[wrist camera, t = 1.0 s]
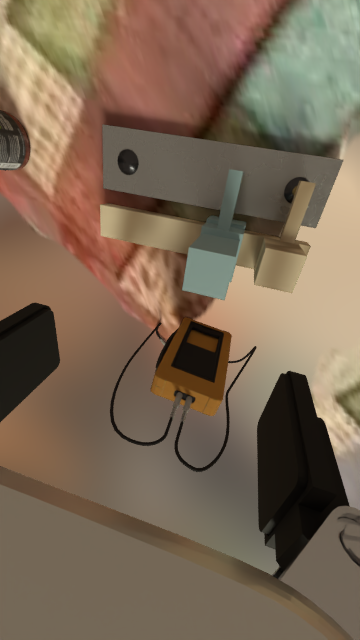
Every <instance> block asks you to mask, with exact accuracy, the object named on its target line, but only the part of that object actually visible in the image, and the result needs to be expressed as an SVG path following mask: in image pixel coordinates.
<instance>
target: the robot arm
mask: <svg viewBox="0 0 360 640" xmlns="http://www.w3.org/2000/svg"><path fill="white" fill-rule="evenodd" d="M59 363H60V357H59V350H58V342H57V335H56V328H55V320H54V314H53V312H52V311H51V309H50V307H49V306H46V305H42V304H39V303H32V304H30V305H28V306H27V307H25V308H23V309H21V310H19V311H17V312H16V313H14V314H12V315H10V316H9V317H7V318H5V319H3V320H1V321H0V422H1V421H2V420H3V419H4V418H5V417H6V416H7V415H8V414H9V413H10V412H11V411H12V410H14V408H15V407H17V406H18V405H19V404H20V403H21V402H22V401H23V400H24V399H25V398H26V397H27V396H28V395H29V394H30V393H31V392H32V391H33V390H34V389H35V388H36V387H37V386H38V385H40V383H42V382H43V380H45V379H46V378H47V377H48V376H49V375H50V374H51V373H52V372H53V371H54V370H55V369H56V368H57V367H58V365H59ZM257 444H258V445H257V449H258V509H259V510H258V512H259V529H260V531H261V532H263V533H265V546H268V547H271V548H273V549H276V561H277V563H278V564H279V567H278V568H277V570H276V571H275V572H274V573H273V575H270V574H268V573H266V572H264V571H262V570H259V569H257V568H255V567H253V566H251V565H249V564H247V563H245V562H243V561H240V560H238V559H236V558H234V557H231V556H229V555H226V554H224V553H222V552H219V551H217V550H214V549H212V548H209V547H207V546H204V545H202V544H199V543H197V542H195V541H192V540H190V539H187V538H185V537H182V536H180V535H178V534H175V533H172V532H170V531H167V530H165V529H162V528H160V527H157V526H154V525H152V524H149V523H147V522H144V521H142V520H139V519H136V518H134V517H131V516H129V515H126V514H124V513H121V512H118V511H116V510H113V509H111V508H108V507H106V506H103V505H100V504H98V503H95V502H93V501H90V500H88V499H85V498H82V497H80V496H77V495H75V494H72V493H69V492H67V491H64V490H61V489H59V488H56V487H54V486H51V485H48V484H45V483H43V482H41V481H38V480H35V479H33V478H30V477H27V476H25V475H22V474H20V473H17V472H14V471H12V470H9V469H7V468H4V467H1V466H0V640H360V510H358V509H356V508H353V507H350V506H349V503H348V499H347V496H346V492H345V489H344V486H343V482H342V479H341V475H340V472H339V469H338V465H337V462H336V459H335V455H334V452H333V448H332V445H331V442H330V438H329V435H328V431H327V428H326V425H325V423H324V421H323V420H322V419H321V418H318V417H317V414H316V411H315V407H314V403H313V400H312V396H311V392H310V389H309V385H308V382H307V378H306V376H305V375H302V374H299V373H295V372H291V371H288V372H287V373H286V374H283V373H282V374H281V375H280V377H279V379H278V381H277V383H276V385H275V387H274V389H273V391H272V394H271V396H270V398H269V400H268V402H267V404H266V406H265V409H264V411H263V413H262V415H261V417H260V419H259V422H258V426H257Z"/></svg>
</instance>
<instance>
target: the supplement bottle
mask: <svg viewBox="0 0 360 640" xmlns="http://www.w3.org/2000/svg"><path fill="white" fill-rule="evenodd" d="M29 156H30V145H29V140H28V137H27V135H26V132H25V130H24V128H23V127H22V125H21V124H20V123H19V121H18V120H17V119H16V118H15V117H13V116H12V115H11V114H9V113H7V112H4V111H1V110H0V170H5V171H6V170H19V169H21V168H23V167H24V166H25V165H26V164H27V162H28V160H29Z"/></svg>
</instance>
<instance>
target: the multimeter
mask: <svg viewBox="0 0 360 640" xmlns="http://www.w3.org/2000/svg"><path fill="white" fill-rule="evenodd" d="M160 325H161V323H159V325H158V326H157V327H156V328H155V329H154V330H153V331H152V333H151V334H150V335H149V336H148V337H147V338H146V340H145V341H144V342H143V343H142V344H141V346H140V347H139V348H138V349H137V351H136V352H135V353H134V355H133V356H132V357H131V358H130V360H129V361H128V363H127V365H126V366H125V368H124V369H123V371H122V373H121V375H120V377H119V379H118V381H117V383H116V386H115V389H114V392H113V396H112V400H111V407H110V416H111V423H112V425H113V427H114V430H115V431H116V432H117V433H118V434H119V435H120V436H121V437H122V438H123V439H126V440H127V441H129V442H131V443H134V444H137V445H142V446H150V445H155V444H158V443H160V442H161V441H163V440H164V439H165V438H166V436H167V434H168V431H169V428H170V425H171V422H172V419H173V418H174V416H175V413H176V409H177V408H178V407H179V405H180V404H181V405H184V407H183V414H182V418H181V421H180V422H181V423H180V427H179V430H178V433H177V437H176V440H175V452H176V455H177V457H178V459H179V460H180V461H181V462H182V463H183V464H184V465H185V466H186V467H188V468H189V469H191V470H193V471H196V472H202V471H205V470H207V469H208V468H210V467H211V466H213V465H214V464H215V463H216V462H217V460H218V459H219V458H220V456H221V454H222V453H223V451H224V449H225V447H226V443H227V440H228V435H229V407H228V393H229V391H230V389H231V388H232V386H233V385H234V383H235V381H236V380H237V378H238V377H239V375H240V374H241V372H242V371H243V369H244V367H245V366H246V364H247V363H248V361H249V359H250V358H251V356H252V355H253V353H254V351H255V349H256V346H255V347H254V348H253V349H252V350H251V351H250V352H249V353H248V354H247V355H246V356H245V357H244V358H242V359H240V360H237V361H228V360H229V351H230V343H231V334H230V333H229V332H226V331H222V330H219V329H217V328H214V327H211V326H208V325H206V324H203V323H200V322H197V321H195V320H193V319H191V318H183V321H182V323H181V325H180V327H179V328H178V329H177V330H176V331H175V332H174V333H172V335H171V336H170V337H169V339H168V340H167V342H165V341H164V340H163V339H162V338H161V337H160V336H159V334H158V327H159V326H160ZM155 330H156V334H157V336H158V337H159V339H160V341H161V342H162V343H163V344H164V348H163V349H162V351H161V353H160V356H159V358H158V361H157V364H156V370H155V375H154V379H153V382H152V386H151V392H153V393H154V394H156V395H158V396H160V397H164V398H166V399H169V400H171V401H174V404H173V409H172V412H171V415H170V420H169V423H168V426H167V429H166V431H165V434H164V435H163V437H161V438H160V439H159V440H157V441H154V442H139V441H135V440H132V439H130V438H128V437H126V436H125V435H123V434H122V433H121V432H120V431H119V430H118V429H117V426H116V424H115V422H114V416H113V405H114V399H115V394H116V391H117V388H118V385H119V382H120V380H121V378H122V376H123V373H124V372H125V370H126V368H127V366H128V365H129V363H130V362H131V360H132V359H133V357H134V356H135V355H136V354H137V352H138V351H139V350H140V349H141V347H142V346H143V345H144V344H145V342H146V341H147V340H148V339H149V337H150V336H151V335H152V334H153V333H154V332H155ZM249 355H250V356H249ZM248 356H249V358H248V359H247V361H246V362H245V364H244V365H243V367H242V369H241V370H240V372H239V373H238V375H237V376H236V378H235V379H234V381H233V382H232V384H231V386H230V387H229V389H228V390H227V393H226V412H227V429H226V437H225V441H224V444H223V447H222V449H221V451H220V452H219V454H218V456H217V457H216V458H215V459H214V460H213V461H212V462H211V463H210V464H209V465H207V466H205V467H203V468H195V467H193V466H191V465H189V464H188V463H187V462H185V461H184V460H183V459H182V458H181V456H180V454H179V452H178V439H179V436H180V433H181V429H182V426H183V423H184V422H185V418H186V415H187V412H189V409H190V408H192V409H194V410H197V411H199V412H202V413H203V414H206V415H209V416H214V415H215V413H216V411H217V409H218V407H219V405H220V404H221V402H222V400H223V394H224V387H225V380H226V373H227V366H228V363H236V362H240V361H242V360H243V359H245V358H246V357H248Z"/></svg>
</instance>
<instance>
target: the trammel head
mask: <svg viewBox="0 0 360 640" xmlns="http://www.w3.org/2000/svg"><path fill="white" fill-rule="evenodd" d="M242 176H243V171H237V170H231V169H229V173H228V178H227V182H226V187H225V192H224V197H223V202H222V206H221V211H220V216H219V217H218V216H213V215H211V216H210V217H208V218H207V222H206V223H205V224H204V225H203V226H202V228H201V234H200V236H199V237H198V238H197V239H196V241H195V242H194V243H193V244H192V245H191V246H190V247H189V250H188V257H187V263H186V269H185V275H184V282H183V288H182V290H184V291H188V292H192V293H196V294H200V295H205V296H209V297H213V298H217V299H221V300H225V297H226V293H227V289H228V285H229V282H231V280H232V277H233V273H234V269H235V266H236V262H237V258H238V254H239V250H240V247H241V243H242V239H243V235H244V231H245V227H246V222H244V221H239V220H234V219H233V215H234V210H235V206H236V202H237V198H238V193H239V189H240V185H241V182H242Z"/></svg>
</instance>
